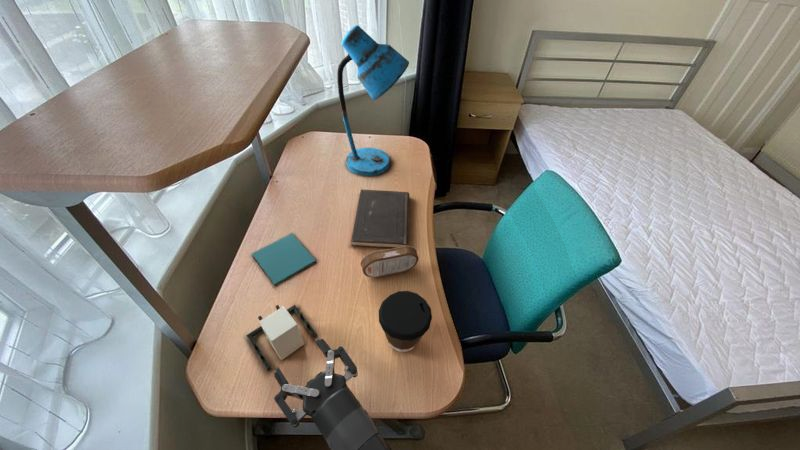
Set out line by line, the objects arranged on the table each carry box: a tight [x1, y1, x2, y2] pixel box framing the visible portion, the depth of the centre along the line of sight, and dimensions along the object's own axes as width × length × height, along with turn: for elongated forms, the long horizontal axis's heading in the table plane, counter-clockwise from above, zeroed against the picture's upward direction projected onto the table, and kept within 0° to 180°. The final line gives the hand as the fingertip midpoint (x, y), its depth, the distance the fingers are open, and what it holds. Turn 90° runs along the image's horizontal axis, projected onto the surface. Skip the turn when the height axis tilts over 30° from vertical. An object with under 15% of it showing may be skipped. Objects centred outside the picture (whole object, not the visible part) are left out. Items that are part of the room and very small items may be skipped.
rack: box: [246, 304, 318, 372], centre depth 70 cm, size 12×10×6 cm
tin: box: [360, 245, 419, 279], centre depth 83 cm, size 15×3×8 cm, turn 106°
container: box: [258, 305, 305, 361], centre depth 68 cm, size 6×6×9 cm
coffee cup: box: [378, 290, 433, 353], centre depth 69 cm, size 11×11×12 cm
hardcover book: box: [350, 188, 410, 249], centre depth 99 cm, size 16×23×2 cm
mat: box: [251, 233, 317, 286], centre depth 88 cm, size 12×13×1 cm
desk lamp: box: [336, 24, 410, 177], centre depth 105 cm, size 16×22×45 cm
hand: (298, 354), depth 63 cm, fingers open, 8 cm apart
